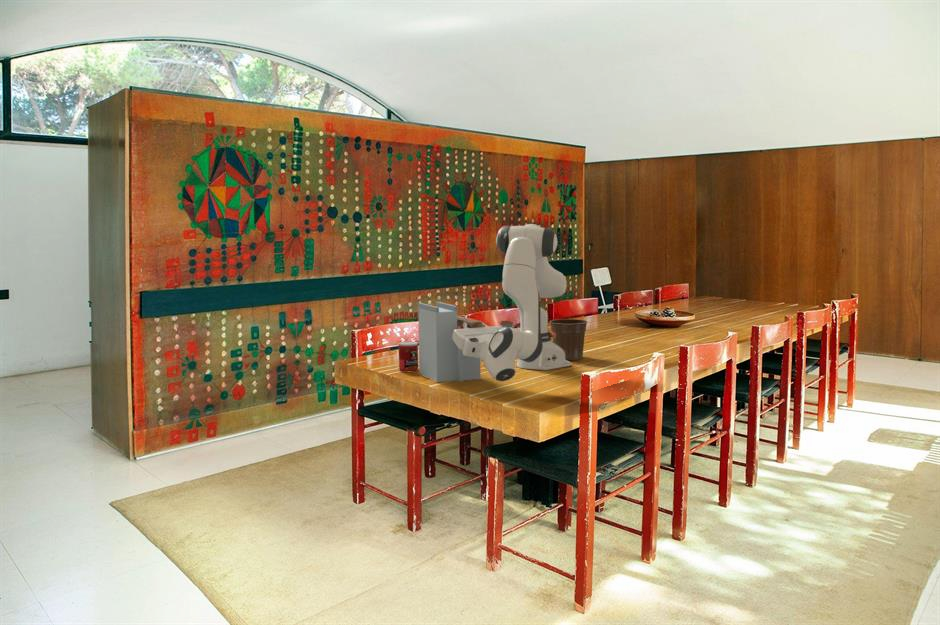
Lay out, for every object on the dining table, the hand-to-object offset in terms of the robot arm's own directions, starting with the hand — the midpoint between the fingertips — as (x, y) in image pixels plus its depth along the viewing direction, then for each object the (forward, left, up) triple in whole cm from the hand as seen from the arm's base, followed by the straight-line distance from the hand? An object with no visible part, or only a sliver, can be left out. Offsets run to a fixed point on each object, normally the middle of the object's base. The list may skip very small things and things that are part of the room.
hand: (472, 323), depth 262 cm
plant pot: (-56, -21, -22) cm, 64 cm away
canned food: (+14, -30, -22) cm, 39 cm away
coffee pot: (-43, -47, -22) cm, 67 cm away
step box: (+4, -11, -22) cm, 25 cm away
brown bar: (0, -7, -2) cm, 7 cm away
